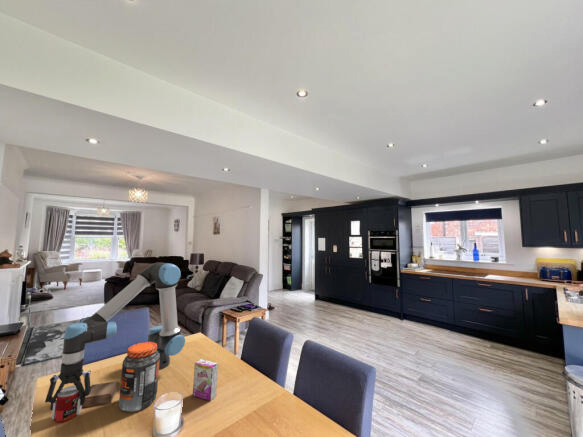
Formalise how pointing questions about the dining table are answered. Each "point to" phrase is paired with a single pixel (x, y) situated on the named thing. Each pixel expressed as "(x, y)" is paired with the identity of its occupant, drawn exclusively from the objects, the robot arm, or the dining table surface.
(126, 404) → the supplement tub
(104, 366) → the dining table surface
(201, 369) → the candy bar box
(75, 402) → the canned food
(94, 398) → the plinth
